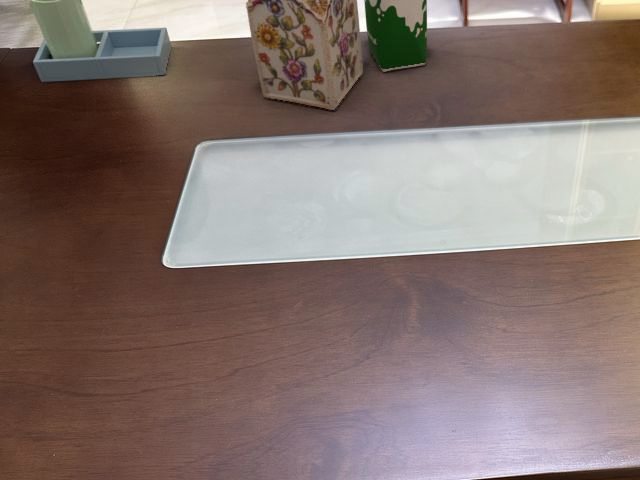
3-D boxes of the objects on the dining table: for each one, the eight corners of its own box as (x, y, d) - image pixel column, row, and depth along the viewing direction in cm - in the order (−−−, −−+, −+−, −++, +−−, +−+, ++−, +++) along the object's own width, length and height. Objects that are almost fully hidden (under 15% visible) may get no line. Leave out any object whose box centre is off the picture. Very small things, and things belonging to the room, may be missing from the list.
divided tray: (41, 82, 107) (32, 62, 104) (54, 52, 113) (46, 32, 110) (165, 75, 109) (159, 55, 107) (171, 46, 115) (166, 27, 113)
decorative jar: (335, 113, 103) (319, -17, 90) (261, 99, 105) (234, -31, 92) (365, 74, 111) (355, -52, 97) (296, 61, 113) (276, -64, 99)
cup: (63, 74, 107) (34, 6, 99) (49, 56, 110) (20, -11, 103) (107, 62, 109) (83, -6, 102) (92, 45, 113) (68, -22, 105)
